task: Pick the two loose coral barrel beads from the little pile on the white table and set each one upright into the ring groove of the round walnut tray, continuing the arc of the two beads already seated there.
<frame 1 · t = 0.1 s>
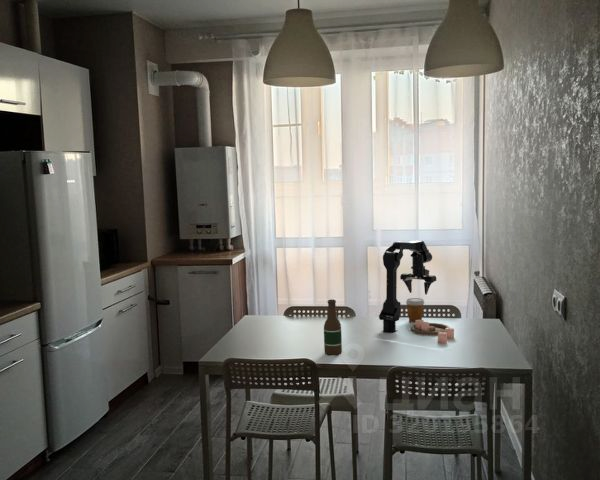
hand: (418, 293, 319), 15 cm above the table, fingers open, 9 cm apart
tray: (430, 331, 298), on the table
beer bottle: (333, 353, 267), on the table
seated bead a: (425, 332, 294), point 1 cm above the table, touching tray
seated bead b: (419, 330, 298), point 1 cm above the table, touching tray
beer glass: (415, 322, 318), on the table
bead 2: (442, 344, 276), on the table
bead 1: (449, 339, 283), on the table
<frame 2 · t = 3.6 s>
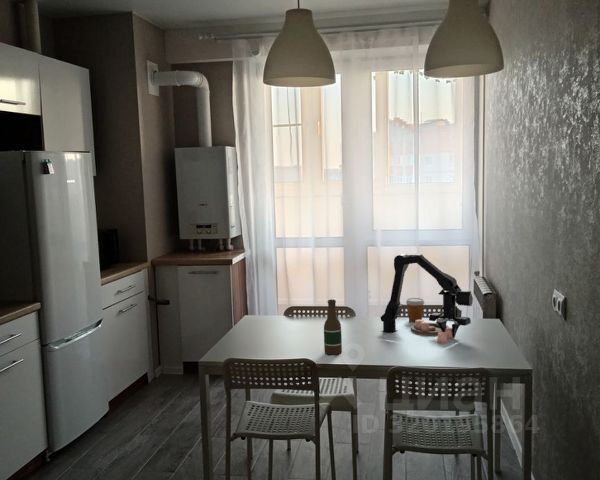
hand: (449, 337, 283), 1 cm above the table, fingers closed on bead 1, 4 cm apart
bead 1: (449, 339, 283), on the table, touching gripper
everything else where it was.
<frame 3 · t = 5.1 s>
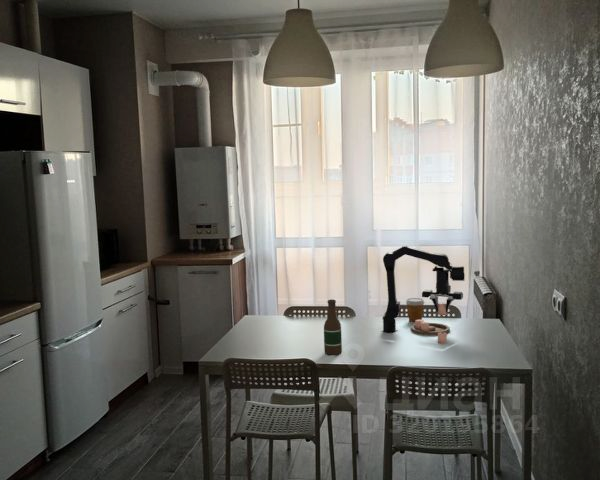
hand: (442, 312, 292), 11 cm above the table, fingers closed on bead 1, 4 cm apart
bead 1: (442, 314, 292), point 10 cm above the table, touching gripper
everything else where it was.
when the fingers open (3 cm above the table, at t = 7.0 s): bead 1 drops 2 cm, resting on tray.
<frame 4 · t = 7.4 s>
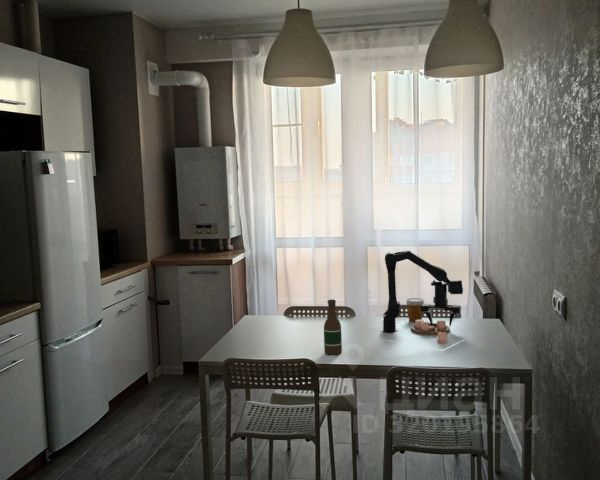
hand: (441, 325, 295), 3 cm above the table, fingers open, 8 cm apart
bead 1: (441, 331, 296), point 1 cm above the table, touching tray
everything else where it was.
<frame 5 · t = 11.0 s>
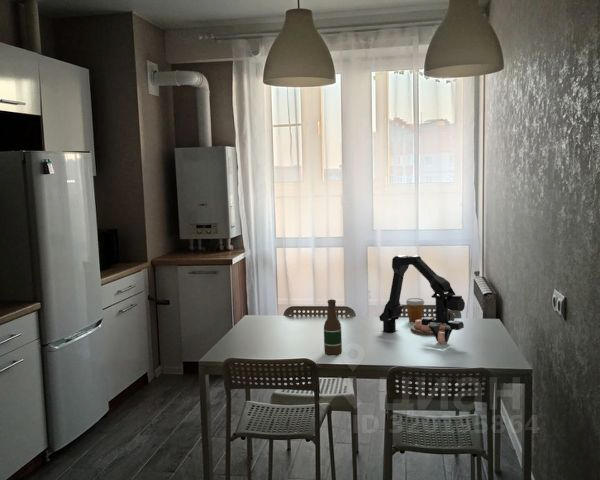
hand: (442, 341, 276), 1 cm above the table, fingers closed on bead 2, 4 cm apart
bead 2: (442, 343, 276), on the table, touching gripper
everything else where it was.
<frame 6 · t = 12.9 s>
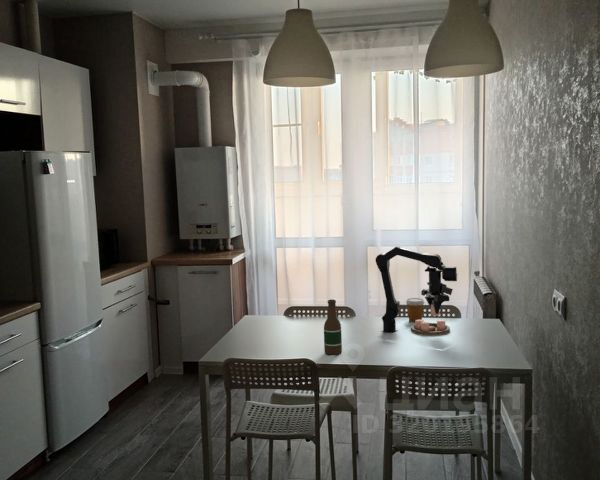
hand: (435, 312, 291), 11 cm above the table, fingers closed on bead 2, 4 cm apart
bead 2: (435, 314, 291), point 10 cm above the table, touching gripper
everything else where it was.
when the fingers open (3 cm above the table, at t = 14.7 s): bead 2 drops 2 cm, resting on tray.
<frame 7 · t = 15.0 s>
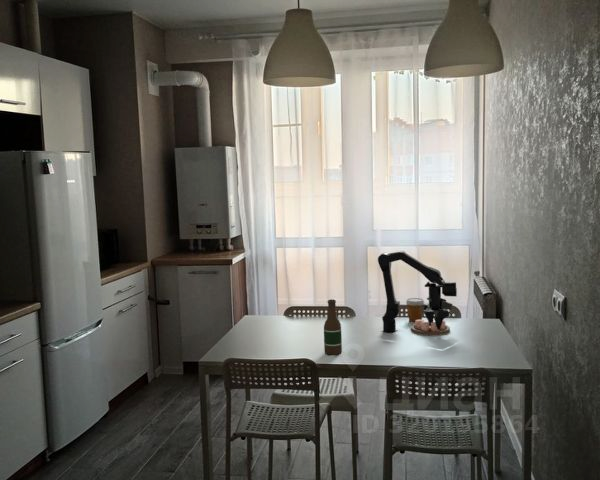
hand: (435, 327, 292), 3 cm above the table, fingers open, 7 cm apart
bead 2: (435, 333, 292), point 1 cm above the table, touching tray
everything else where it was.
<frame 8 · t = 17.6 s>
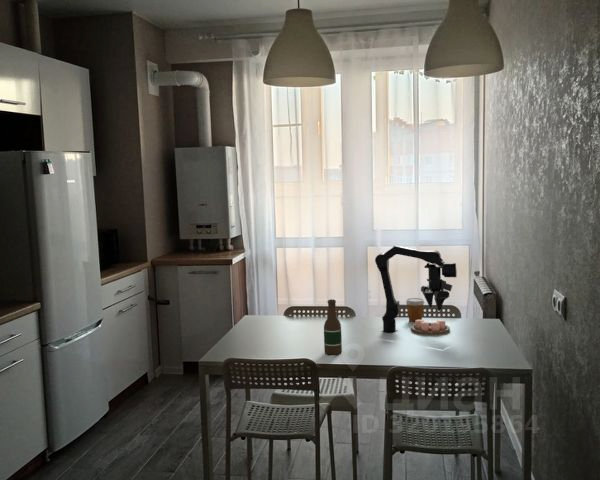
hand: (434, 309, 291), 12 cm above the table, fingers open, 9 cm apart
nothing on the table moved.
at the end: bead 1 5.3 cm from the tray (horizontally); bead 2 5.3 cm from the tray (horizontally); bead 2 point 0.6 cm above the table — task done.
